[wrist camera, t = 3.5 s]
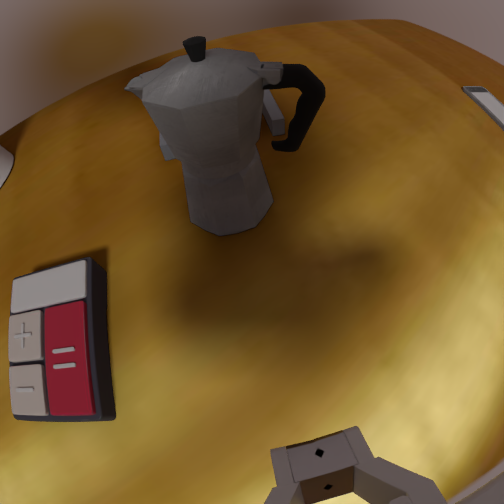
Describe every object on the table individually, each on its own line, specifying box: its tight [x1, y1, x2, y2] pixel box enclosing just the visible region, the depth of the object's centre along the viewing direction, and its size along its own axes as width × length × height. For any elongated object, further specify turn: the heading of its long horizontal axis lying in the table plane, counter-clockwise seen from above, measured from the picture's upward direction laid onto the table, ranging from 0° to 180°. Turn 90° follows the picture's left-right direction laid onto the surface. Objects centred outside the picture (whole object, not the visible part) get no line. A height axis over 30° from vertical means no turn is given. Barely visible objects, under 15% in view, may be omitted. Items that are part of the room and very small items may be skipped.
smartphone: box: [463, 86, 504, 131], centre depth 39 cm, size 7×1×15 cm
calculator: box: [9, 257, 116, 422], centre depth 25 cm, size 11×4×15 cm
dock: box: [160, 89, 285, 161], centre depth 40 cm, size 15×14×2 cm
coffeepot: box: [124, 36, 325, 236], centre depth 25 cm, size 15×9×18 cm, turn 81°
